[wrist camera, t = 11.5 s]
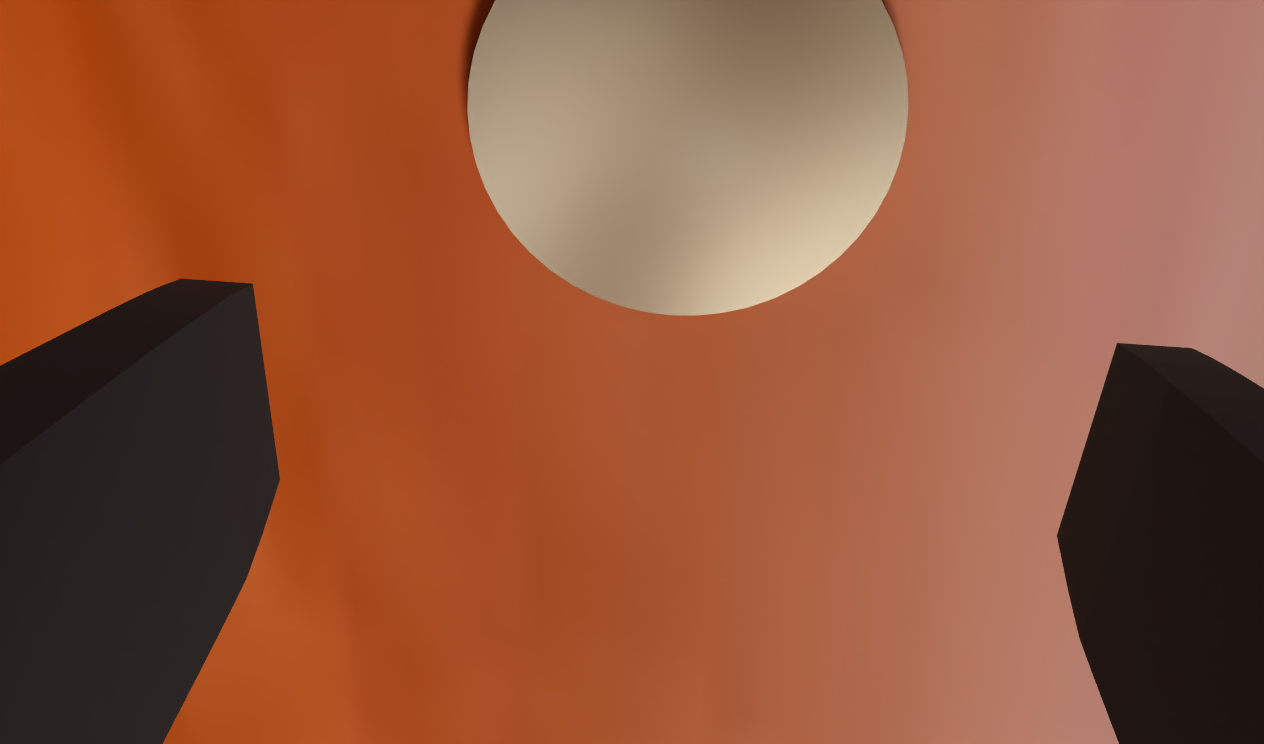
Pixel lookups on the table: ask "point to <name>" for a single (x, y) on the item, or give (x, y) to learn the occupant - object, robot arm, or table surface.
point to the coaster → (687, 140)
